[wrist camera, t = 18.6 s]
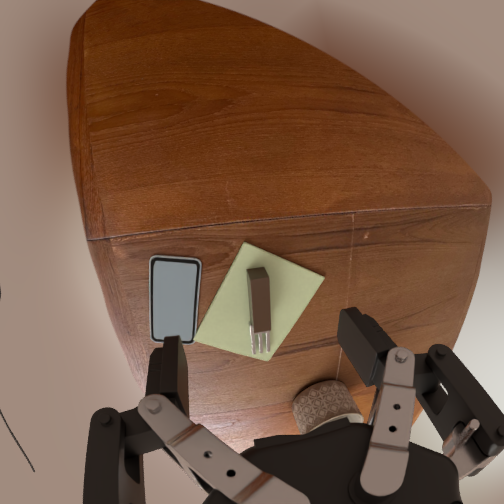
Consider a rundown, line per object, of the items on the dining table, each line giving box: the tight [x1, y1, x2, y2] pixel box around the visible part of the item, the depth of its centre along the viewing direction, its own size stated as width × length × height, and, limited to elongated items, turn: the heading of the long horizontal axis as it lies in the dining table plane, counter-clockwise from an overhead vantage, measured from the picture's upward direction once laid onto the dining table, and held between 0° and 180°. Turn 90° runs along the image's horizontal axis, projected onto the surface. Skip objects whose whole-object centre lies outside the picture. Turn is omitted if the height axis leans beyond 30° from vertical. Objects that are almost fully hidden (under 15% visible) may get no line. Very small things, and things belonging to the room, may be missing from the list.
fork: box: [246, 267, 271, 354], centre depth 43 cm, size 15×3×3 cm, turn 4°
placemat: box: [193, 241, 325, 361], centre depth 44 cm, size 18×14×1 cm
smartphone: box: [149, 255, 202, 345], centre depth 42 cm, size 7×1×15 cm
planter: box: [292, 380, 364, 435], centre depth 52 cm, size 13×13×10 cm
